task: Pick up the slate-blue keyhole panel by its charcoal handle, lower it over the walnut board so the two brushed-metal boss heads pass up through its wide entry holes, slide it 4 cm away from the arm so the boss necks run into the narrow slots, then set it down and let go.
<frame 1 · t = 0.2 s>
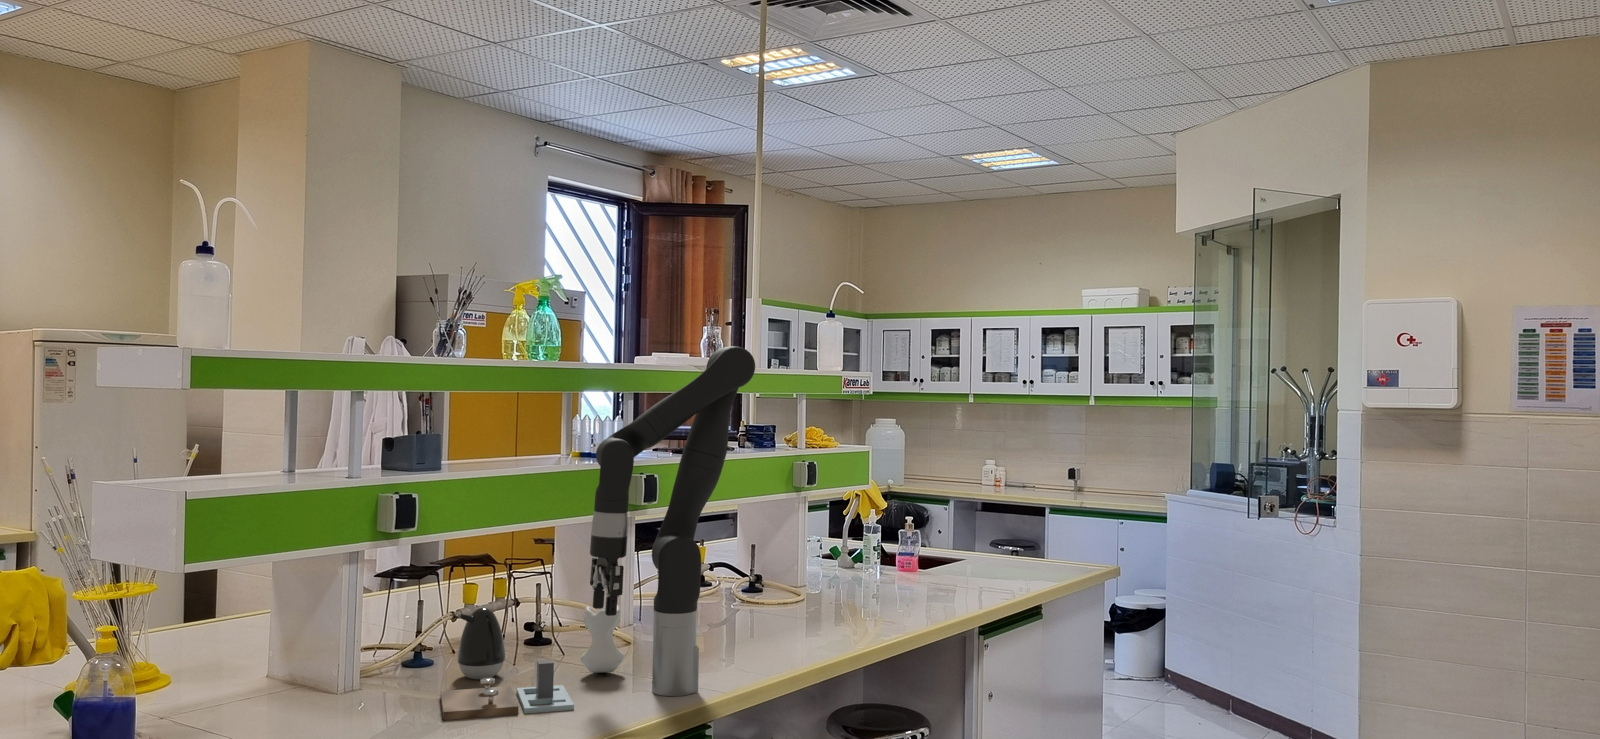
hand: (604, 611, 232), 18 cm above the lab bench, tool pointing down, fingers open, 8 cm apart
pump dispenser: (480, 677, 246), on the lab bench
keyhole panel: (544, 701, 227), on the lab bench
white scalloped vase: (601, 673, 251), on the lab bench
walnut board: (478, 706, 223), on the lab bench
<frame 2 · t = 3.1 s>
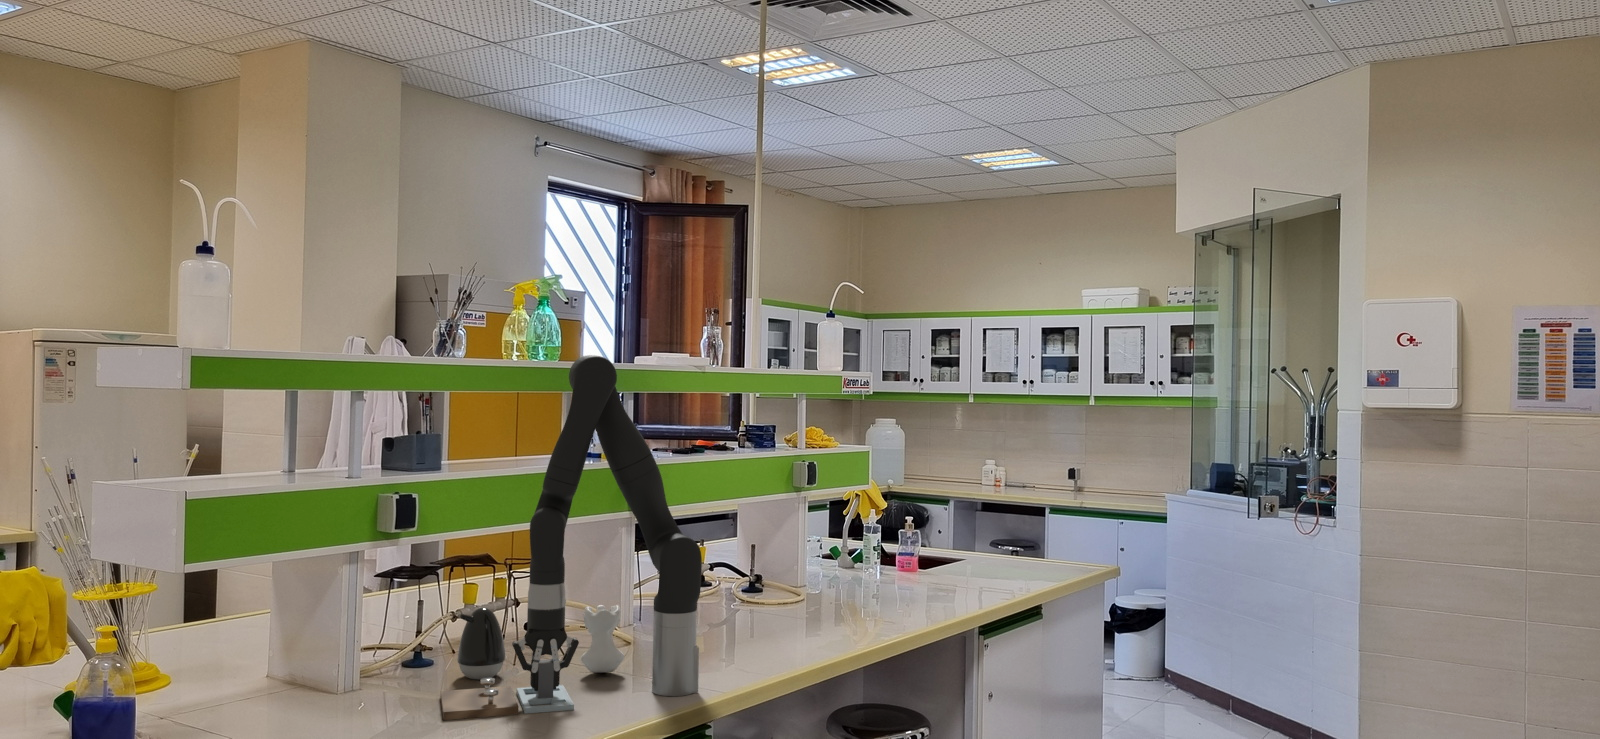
hand: (544, 689, 227), 2 cm above the lab bench, tool pointing down, fingers closed on keyhole panel, 3 cm apart
keyhole panel: (544, 701, 227), on the lab bench, touching gripper
everything else where it was.
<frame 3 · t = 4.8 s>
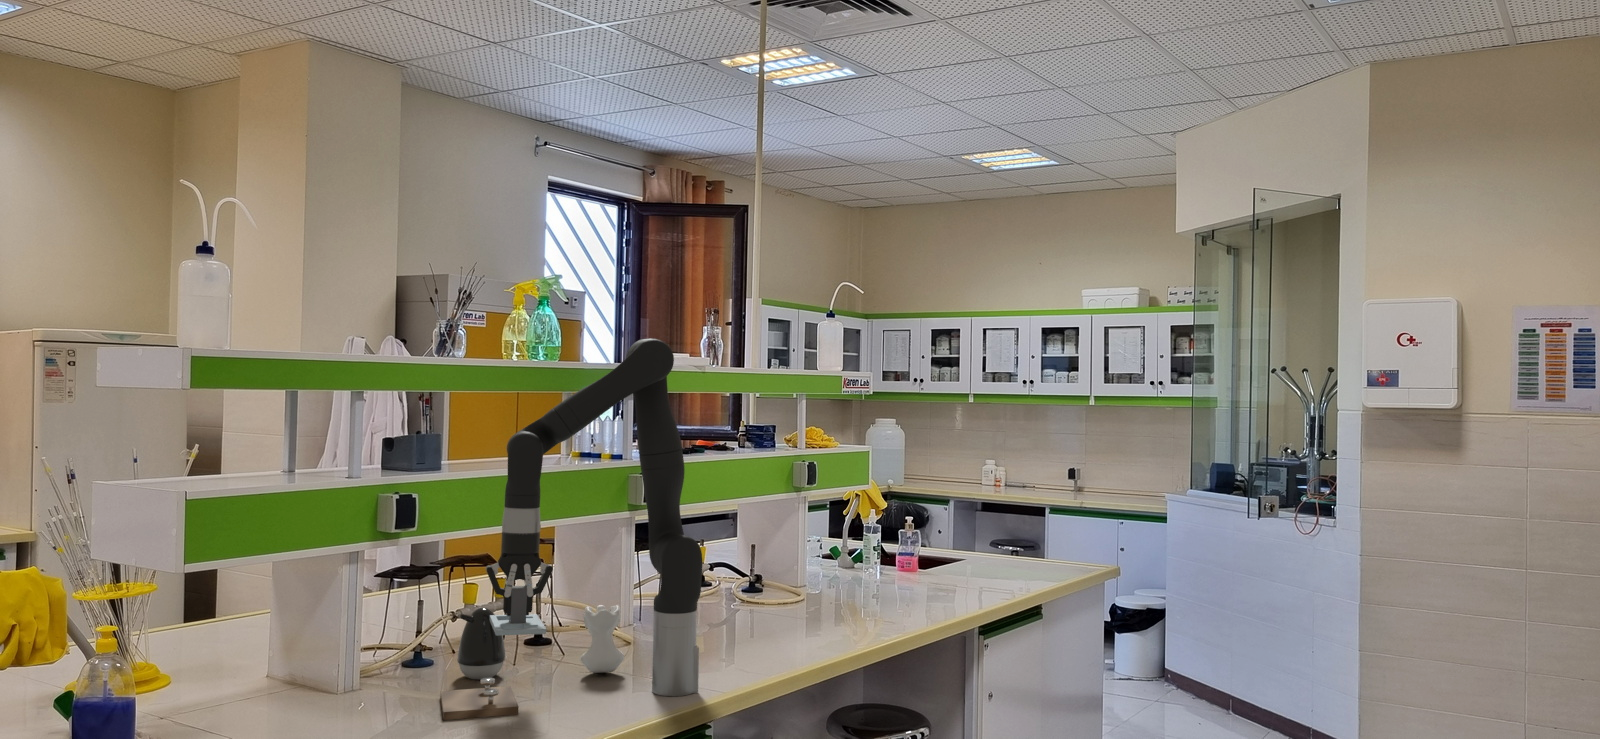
hand: (517, 614, 226), 18 cm above the lab bench, tool pointing down, fingers closed on keyhole panel, 3 cm apart
keyhole panel: (517, 626, 225), point 15 cm above the lab bench, touching gripper
everything else where it was.
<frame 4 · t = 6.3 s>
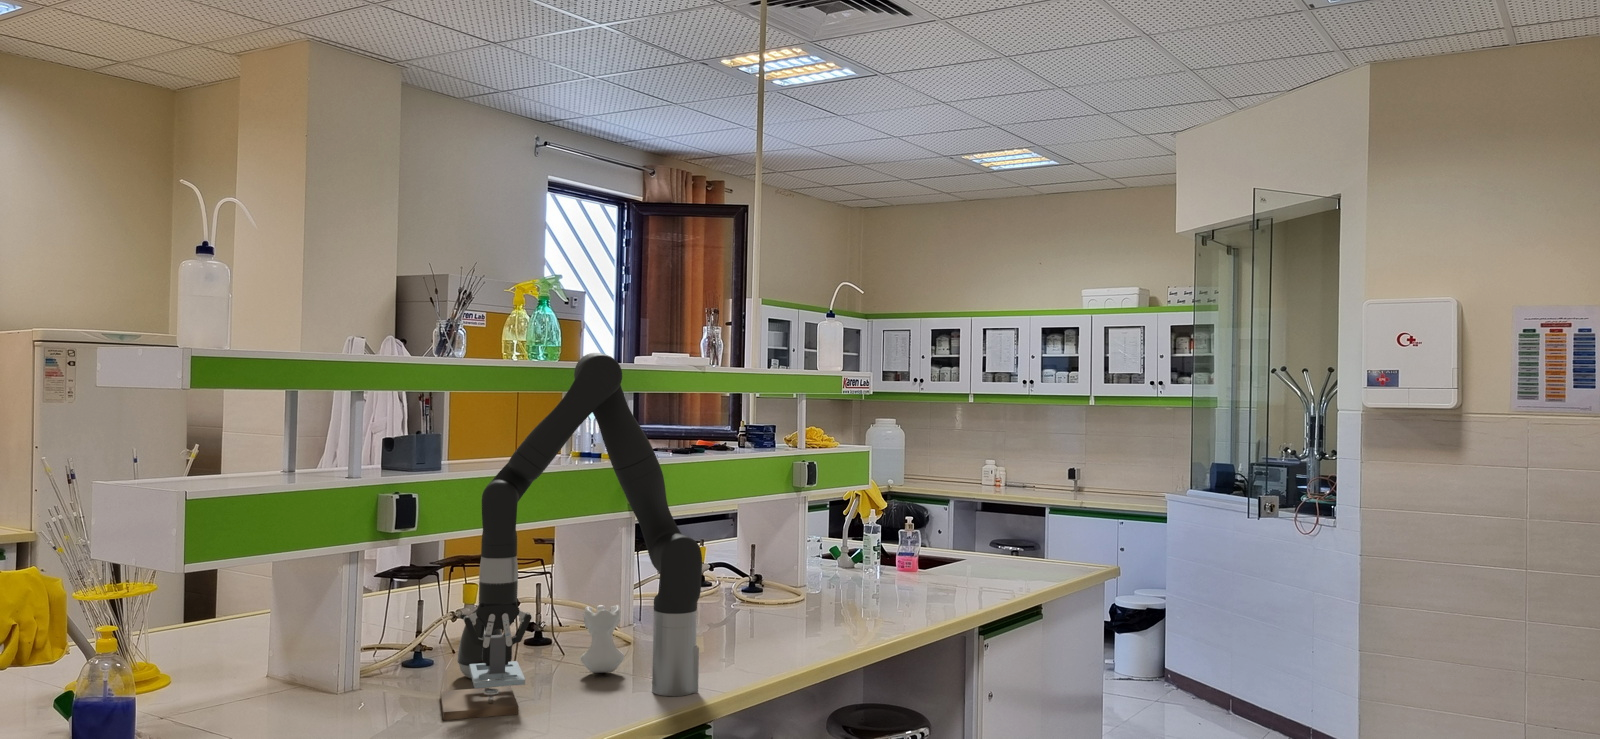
hand: (496, 664, 224), 8 cm above the lab bench, tool pointing down, fingers closed on keyhole panel, 3 cm apart
keyhole panel: (496, 676, 224), point 6 cm above the lab bench, touching gripper
everything else where it was.
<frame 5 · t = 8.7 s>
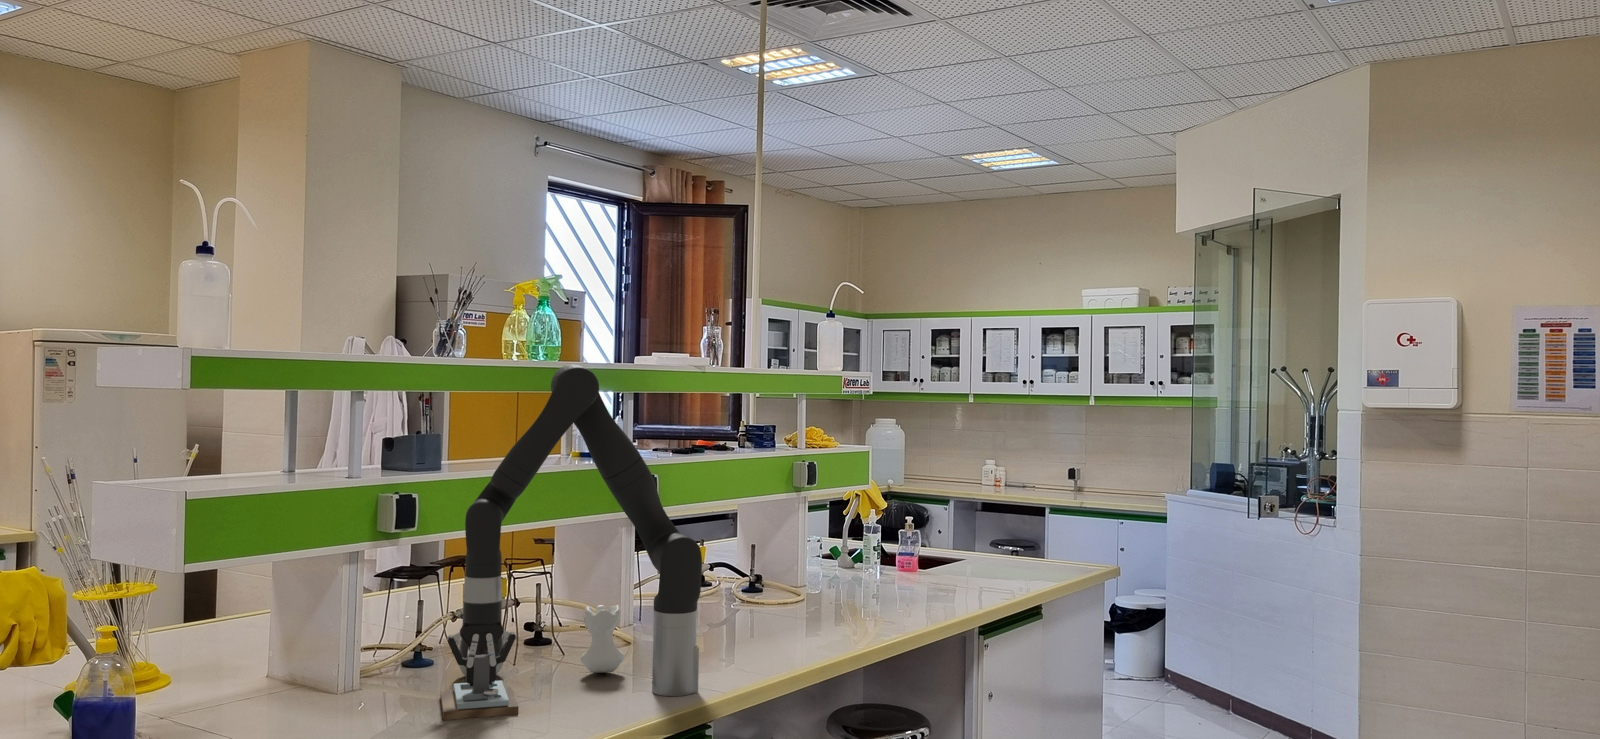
hand: (480, 684, 223), 4 cm above the lab bench, tool pointing down, fingers closed on keyhole panel, 3 cm apart
keyhole panel: (480, 696, 223), point 2 cm above the lab bench, touching gripper
everything else where it was.
when the fingers open (4 cm above the lab bench, at t = 10.0 s): keyhole panel stays where it is, resting on walnut board.
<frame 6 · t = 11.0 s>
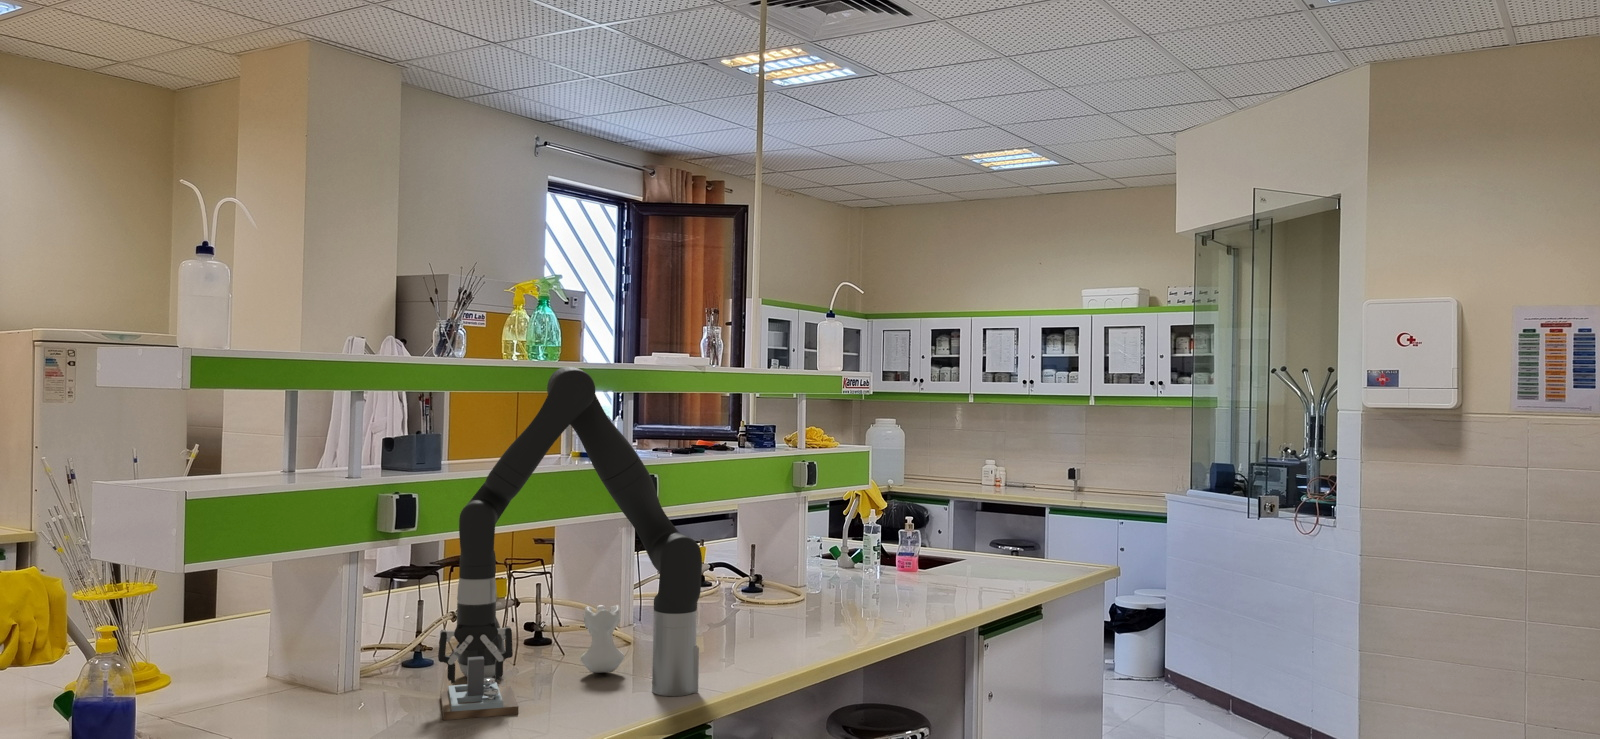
hand: (475, 681, 223), 5 cm above the lab bench, tool pointing down, fingers open, 8 cm apart
keyhole panel: (475, 698, 223), point 1 cm above the lab bench, touching walnut board
everything else where it was.
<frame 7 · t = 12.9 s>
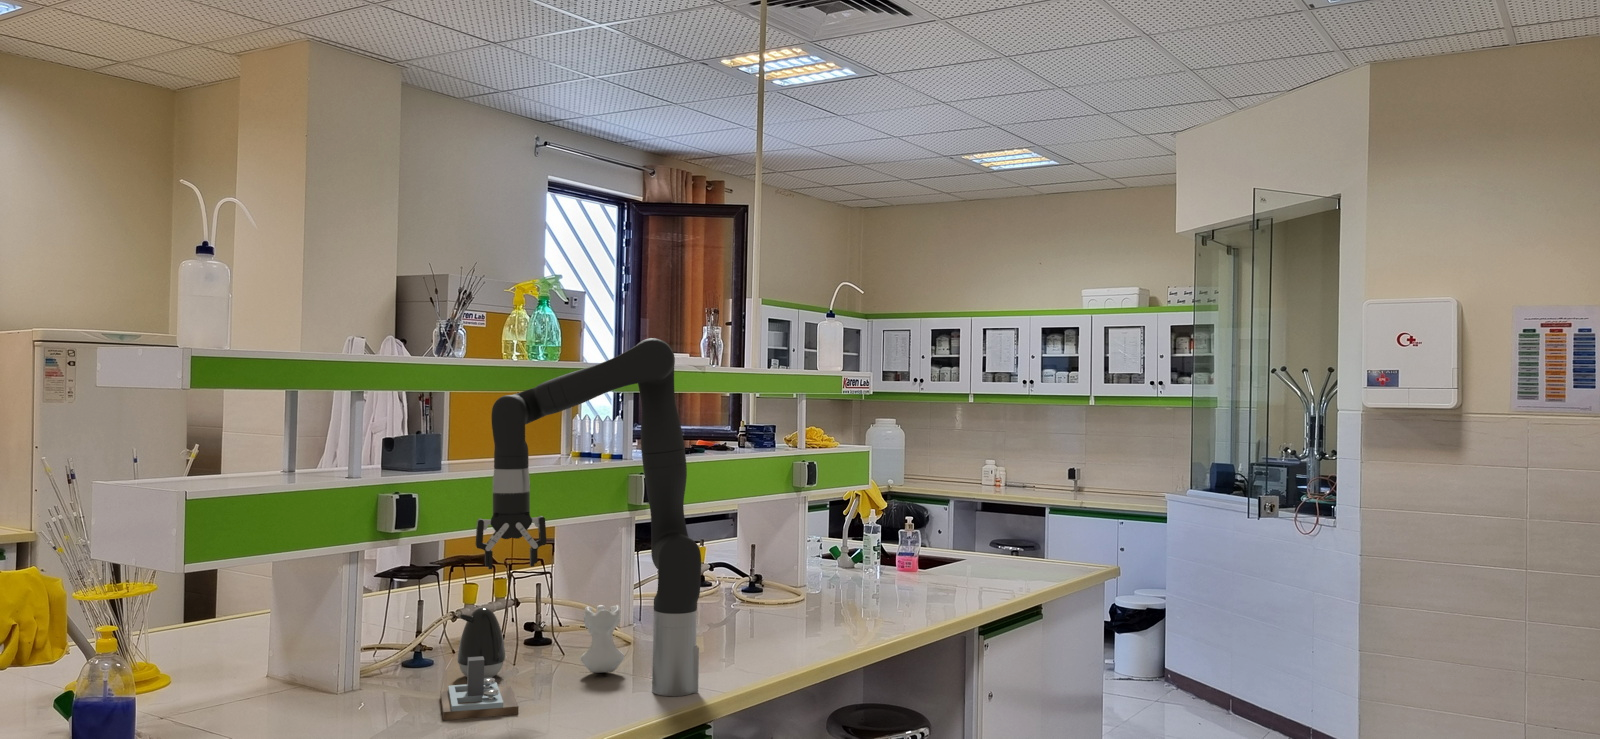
hand: (511, 567, 233), 26 cm above the lab bench, tool pointing down, fingers open, 8 cm apart
nothing on the lab bench moved.
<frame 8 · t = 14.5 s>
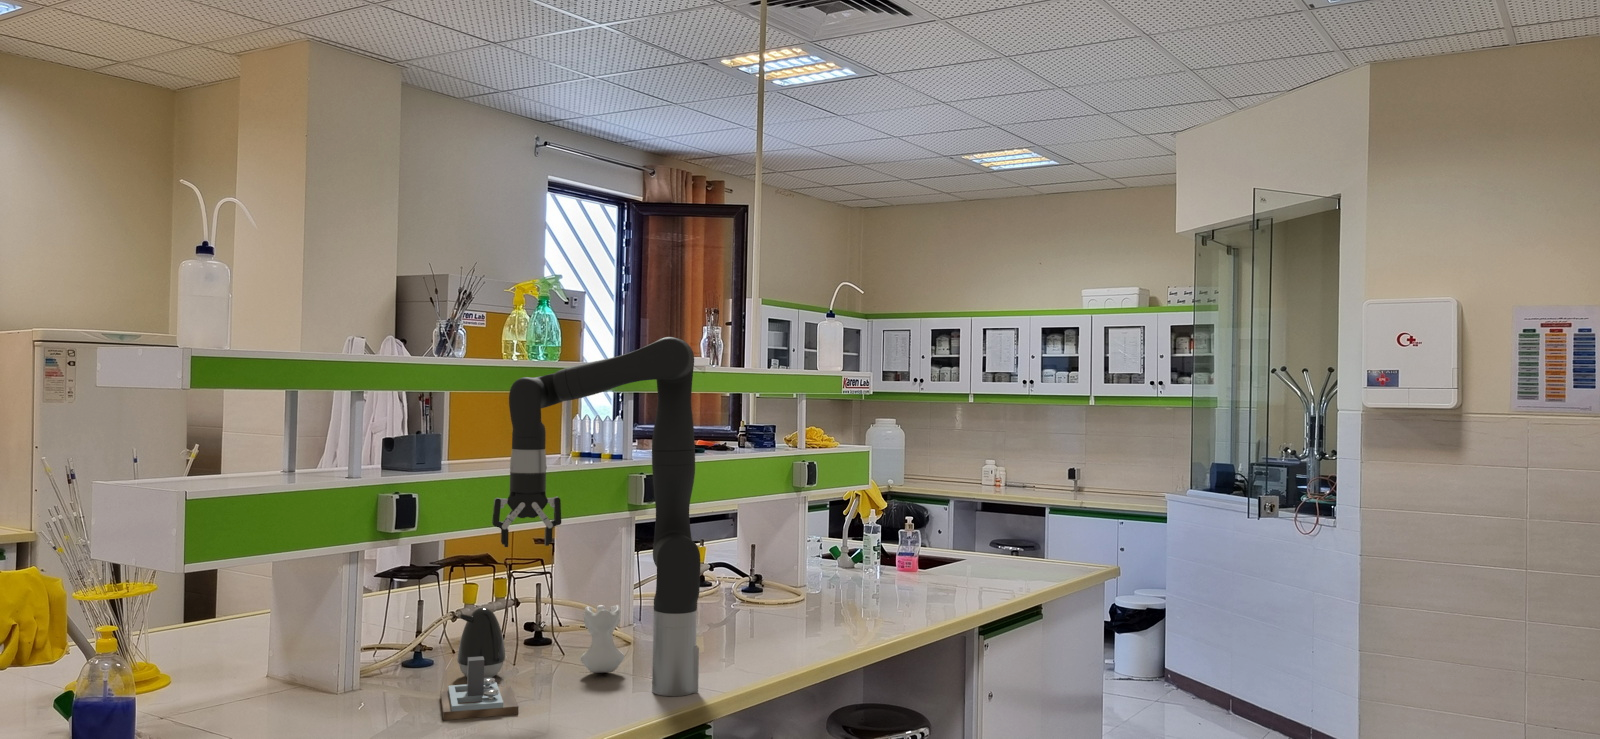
hand: (526, 546, 238), 30 cm above the lab bench, tool pointing down, fingers open, 8 cm apart
nothing on the lab bench moved.
at the end: keyhole panel 0.2 cm off-centre on the walnut board, point 1.5 cm above the walnut board's base; keyhole panel tilted 0°; the gripper is holding nothing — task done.
